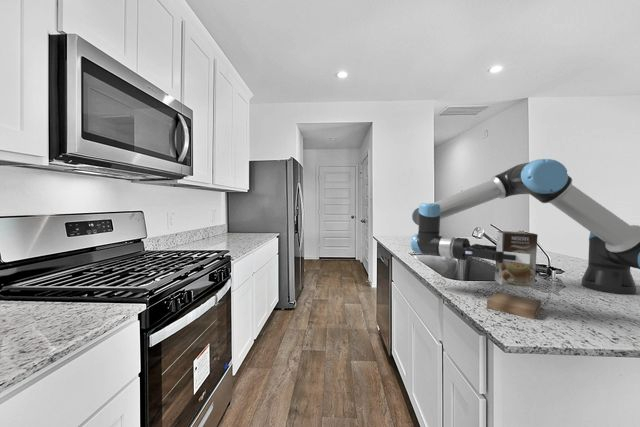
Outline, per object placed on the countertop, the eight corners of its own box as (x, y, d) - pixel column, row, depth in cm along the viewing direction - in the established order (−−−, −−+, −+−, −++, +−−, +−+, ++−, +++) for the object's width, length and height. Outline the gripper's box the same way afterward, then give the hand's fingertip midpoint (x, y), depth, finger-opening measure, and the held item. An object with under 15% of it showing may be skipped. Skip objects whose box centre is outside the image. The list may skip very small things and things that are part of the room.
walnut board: (540, 308, 91) (541, 300, 91) (534, 319, 83) (534, 310, 83) (497, 299, 100) (497, 292, 100) (486, 308, 91) (487, 300, 91)
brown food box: (500, 285, 89) (502, 232, 88) (494, 279, 95) (496, 230, 95) (535, 288, 87) (538, 234, 86) (526, 282, 93) (528, 231, 92)
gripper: (465, 254, 111) (538, 264, 95) (442, 262, 95) (525, 275, 80) (466, 235, 111) (539, 241, 95) (443, 240, 95) (526, 248, 79)
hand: (533, 257), depth 87 cm, fingers closed on brown food box, 9 cm apart
